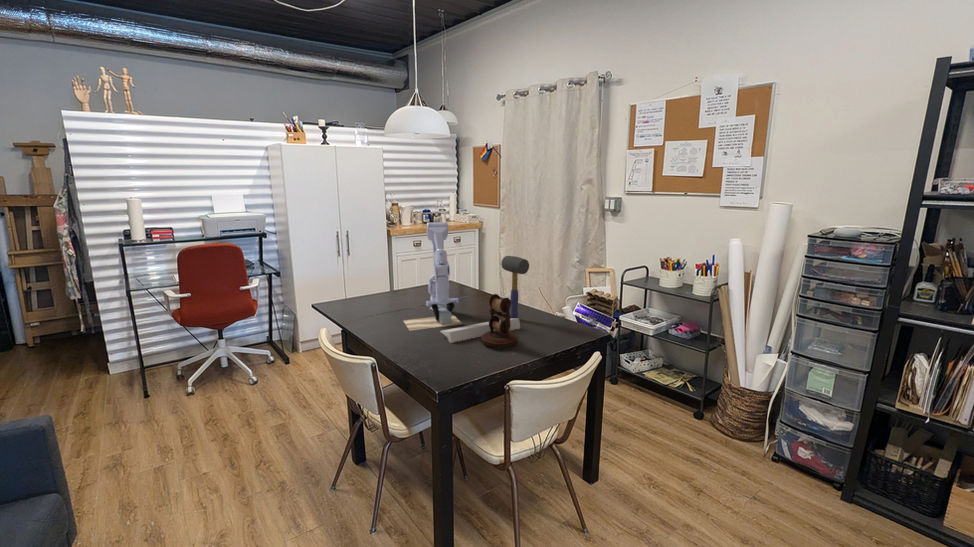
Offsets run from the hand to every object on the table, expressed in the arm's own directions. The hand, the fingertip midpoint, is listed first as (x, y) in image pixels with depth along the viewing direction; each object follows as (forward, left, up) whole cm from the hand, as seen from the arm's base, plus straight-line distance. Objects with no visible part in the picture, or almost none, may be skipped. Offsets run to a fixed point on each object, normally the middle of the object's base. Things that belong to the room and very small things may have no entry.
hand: (442, 319), depth 206 cm
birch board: (0, -5, -2) cm, 5 cm away
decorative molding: (+15, +13, -3) cm, 20 cm away
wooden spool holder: (+30, +15, -2) cm, 34 cm away
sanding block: (+1, 0, -1) cm, 1 cm away
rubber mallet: (+5, +33, -2) cm, 34 cm away
